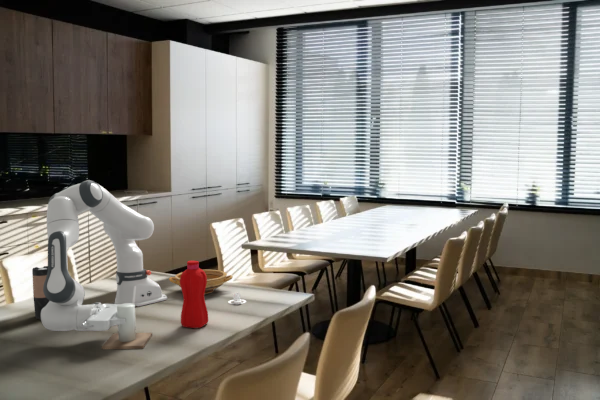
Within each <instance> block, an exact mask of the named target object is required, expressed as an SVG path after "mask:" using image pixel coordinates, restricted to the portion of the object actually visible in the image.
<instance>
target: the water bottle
mask: <svg viewBox="0 0 600 400" xmlns="http://www.w3.org/2000/svg"><path fill="white" fill-rule="evenodd" d="M186 264H187V265H186V268H187V269H185V270H184V271H181V273H182V274H181V277H180V286H181V287H180V286H179V287H180V290H181V292H182V296H183V302H182V307H181V312H180V324H181V326H182V327H183V328H188V329H189V328H191V329H200V328H203V327H204V326H205V325H207V324H208V322H209V313H208V308H207V304H206V300H205V294H204V293H205V288H206V283H207V276H206V274H205V272H204V271H203V270H204V269H202V268H200V267H199V265H200V262H199V261H198V260H188V261H187V262H186Z"/></svg>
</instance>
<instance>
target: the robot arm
mask: <svg viewBox="0 0 600 400" xmlns="http://www.w3.org/2000/svg"><path fill="white" fill-rule="evenodd" d="M87 211H89V212H90V213H91V214H92V215H94V216H95V217H96V218H97V219H98V220H100V221H101V222H102V223H103V225H102V226H103V227H102V228H103V231H104V233H105V234H107V236H108V237H109V239H110V241H111V243H112V246H113V248H114V251H115V259H116V273H115V281H116V293H115V294H116V295H115V300H114V303H101V302H100V301H99V302H97V301H96V302H94V303H91V304H83V303H84V299H85V295H86V292H85V287H84V286H83V285H82V284H81V283H80V282H78V281H77V280H76V279H74V278H73V276H71V274H70V273H69V269H68V266H69V265H68V263H69V262H68V261H69V260H68V250H69V248H71V247H73V246H74V245H75V244H77V242H79V239H80V222H79V216H78V215H81V214H83V213H84V212H87ZM154 230H155V224H154V222H153V220H152V219H151V217H148V216H145V215H143V214H141V213H139V212H137V211H136V210H135V209H133V208H131V207H129V206H127V205H126V204H124V203H123V202H121V201H120V200H119V199H117V198H116V196H114V195H113V193H111V192H109V191H108V190H107V189H106V188H104V186H102V185H100V184H99V183H97V182H95V181H94V180H90V179H88V180H84V181H82V182H80V183H77V184H73V185H70V186H68V187H66V188H65V189H62V190H61V191H59V192H56V193H54V194H53V195H52V196H51V197H50V198H49V199H48V202H47V209H46V232H47V266H48V272H47V276H46V279H45V282H44V286H43V292H44V295H45V297H46V298H47V299H48V300H50V301H49V303H48V304H47V305H46V306H45V307H44V308H43V309H42V310H41V315H40V317H41V319H40V322H41V324H42V326H43V328H45V329H46V330H49V331H53V332H55V331H57V332H68V331H72V330H75V331H78V332H79V331H80V332H81V331H96V332H98V331H99V332H100V331H101V332H103V331H108V330H109V329H110V328H111V327H113V326H118V325H119V324H125V323H126V318H120V319H117V306H118V305H120V304H124V303H132V304H135V307H141V306H146V305H150V304H154V303H159V302H162V301H167V300H168V295H166V294H165V293H162V288H161V286H160V285H159V283H158V282H156V281H155V280H153V279H151V278H150V277H148V276H151V275H152V271H151V270H147V269H145V268H144V254H143V251H142V249H140V247H139V246H138V244H137V243H136V241H144V240H148V239H150V237H152V235H153V233H154Z"/></svg>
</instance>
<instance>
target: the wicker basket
mask: <svg viewBox="0 0 600 400" xmlns="http://www.w3.org/2000/svg"><path fill="white" fill-rule="evenodd" d="M202 270H203V271H204V272H205V274H206V276H207V283H206V288H205V293H204V295H208V294H211V293H213V292H214V290H215V289H218V288H220V287H221V286H223V285H224V284H225V283H228V282H229V281H231V280H232V279H233V275H228V274H227V272H225V271H222V270H216V269H202ZM181 274H182V272H179V273H177V274H175V275H174V276H171V277H169V278H168V279H169V282H171V284H172V283H173V284H175V285H177V286H178V287H179V288H181V286H180V277H181Z"/></svg>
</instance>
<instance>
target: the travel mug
mask: <svg viewBox="0 0 600 400" xmlns="http://www.w3.org/2000/svg"><path fill="white" fill-rule="evenodd" d="M31 270H32V292H33V294H32V295H33V305H34V306H33V307H34V315H35V316H34V317H35V318H36V319H37V320H38V319H39V320H41V317H40V315H41V310H42V309H43V308H44V307H45V306H46V305H47V304H48V303H49V301H50V300H48V299H47V298H46V297H45V295H44V292H43V286H44V282H45V279H46V276H47V272H48V265H44V266H43V267H38V266H36V267H33V268H32V269H31Z"/></svg>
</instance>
